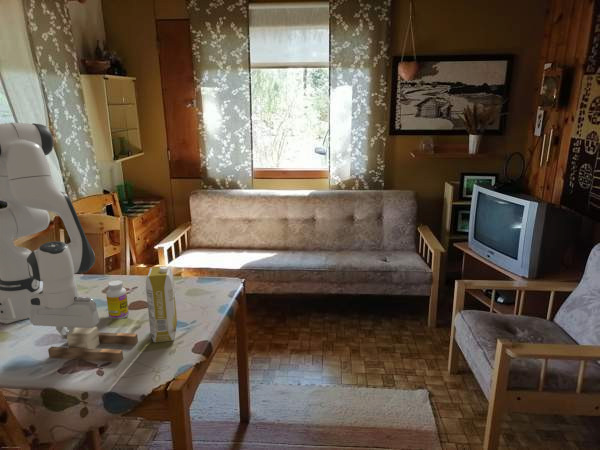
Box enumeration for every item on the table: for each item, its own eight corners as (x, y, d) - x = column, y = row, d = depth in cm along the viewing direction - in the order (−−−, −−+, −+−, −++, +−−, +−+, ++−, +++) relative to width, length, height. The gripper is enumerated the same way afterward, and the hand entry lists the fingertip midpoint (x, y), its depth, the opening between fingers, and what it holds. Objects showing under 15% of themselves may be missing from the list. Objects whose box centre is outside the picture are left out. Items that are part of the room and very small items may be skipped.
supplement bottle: (122, 321, 152) (117, 287, 149) (105, 319, 154) (100, 285, 150) (132, 312, 159) (129, 280, 155) (116, 311, 160) (112, 278, 157)
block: (69, 353, 130) (66, 335, 129) (81, 343, 136) (78, 325, 134) (88, 354, 130) (86, 336, 128) (99, 344, 135) (97, 326, 134)
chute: (50, 361, 128) (47, 348, 127) (72, 342, 139) (70, 330, 138) (121, 365, 126) (119, 352, 125) (138, 345, 137) (137, 333, 136)
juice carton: (176, 342, 139) (170, 272, 133) (150, 344, 137) (143, 273, 131) (178, 328, 148) (172, 261, 141) (154, 330, 146) (147, 263, 140)
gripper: (100, 293, 131) (105, 334, 134) (36, 290, 133) (43, 331, 136) (88, 302, 124) (94, 345, 128) (21, 299, 126) (29, 342, 130)
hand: (67, 338), depth 132 cm, fingers closed
